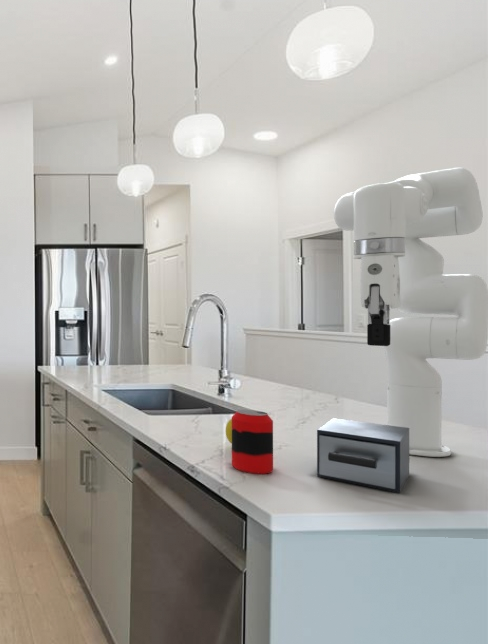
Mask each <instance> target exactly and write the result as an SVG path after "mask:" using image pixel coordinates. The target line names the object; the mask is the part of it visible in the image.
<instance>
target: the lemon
mask: <svg viewBox="0 0 488 644" xmlns="http://www.w3.org/2000/svg"><path fill="white" fill-rule="evenodd" d="M225 436H226V439H227V441H228V442H229V443H230V444H231V445H232V418H230V419H229V420H228V421H227V423H226V426H225Z"/></svg>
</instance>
